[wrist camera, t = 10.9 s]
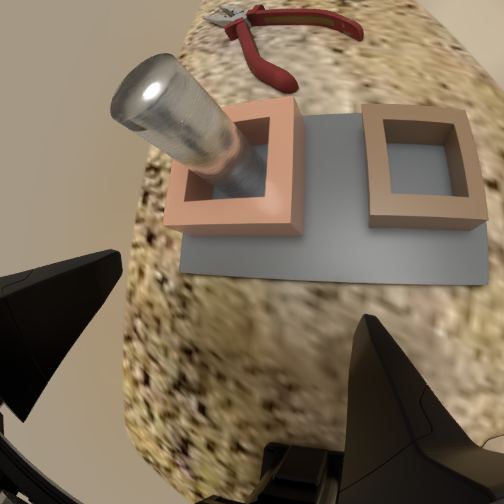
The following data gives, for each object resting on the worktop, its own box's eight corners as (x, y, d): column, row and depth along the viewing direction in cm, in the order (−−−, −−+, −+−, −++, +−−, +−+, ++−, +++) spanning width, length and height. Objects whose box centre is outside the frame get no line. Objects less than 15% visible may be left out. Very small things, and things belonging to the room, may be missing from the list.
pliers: (246, -3, 26) (238, -16, 24) (370, 40, 19) (367, 21, 17) (183, 43, 28) (172, 31, 26) (290, 102, 21) (281, 84, 19)
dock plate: (482, 285, 14) (509, 282, 10) (186, 273, 22) (153, 268, 18) (462, 126, 15) (476, 96, 12) (203, 136, 23) (178, 113, 20)
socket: (303, 236, 18) (290, 223, 15) (191, 235, 21) (162, 225, 18) (305, 124, 19) (293, 96, 16) (204, 137, 22) (181, 116, 19)
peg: (279, 185, 19) (186, 78, 8) (235, 212, 20) (113, 137, 9) (257, 148, 20) (167, 42, 9) (218, 174, 21) (108, 91, 10)
